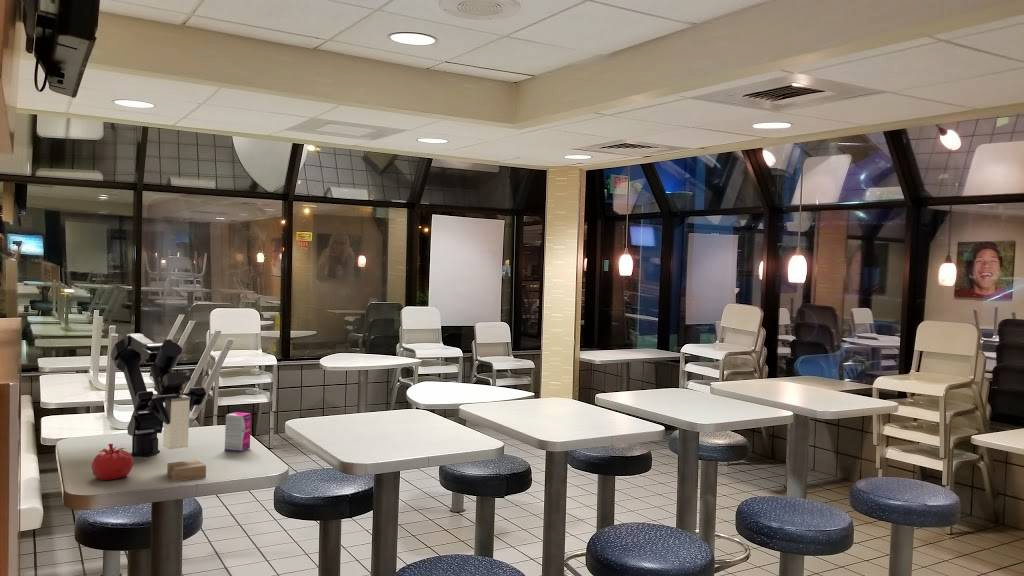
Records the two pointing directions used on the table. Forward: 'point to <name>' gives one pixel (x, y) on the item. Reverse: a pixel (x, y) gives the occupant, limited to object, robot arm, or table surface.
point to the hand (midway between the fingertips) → (178, 422)
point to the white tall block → (176, 421)
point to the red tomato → (112, 464)
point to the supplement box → (237, 431)
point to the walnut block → (186, 470)
